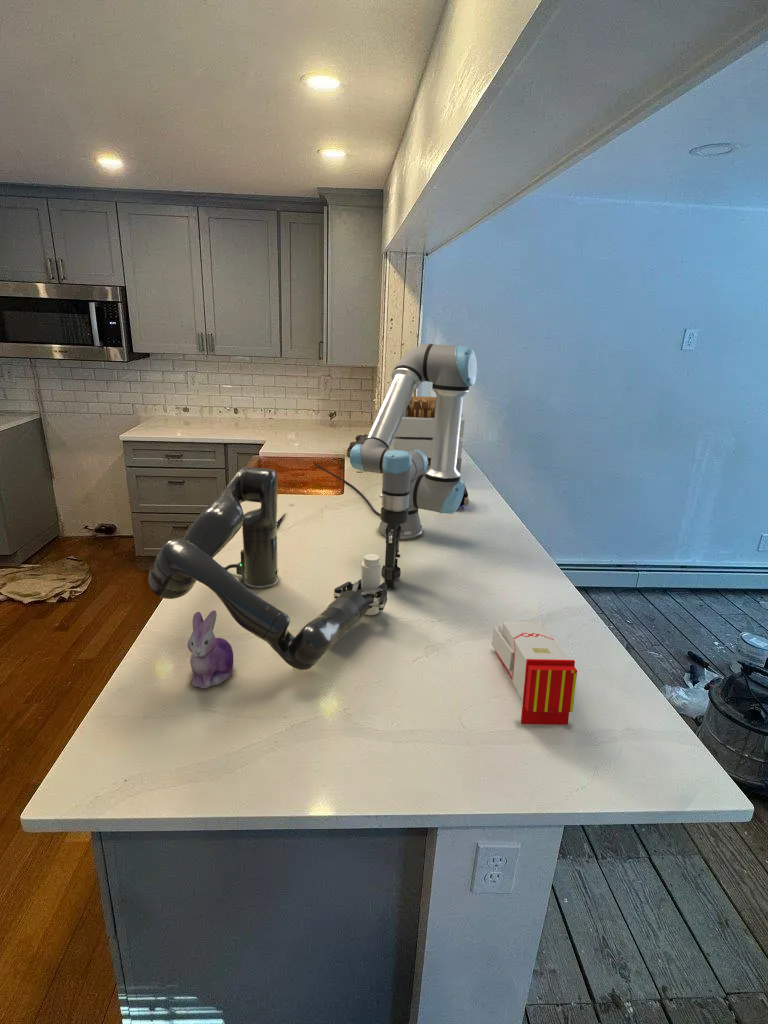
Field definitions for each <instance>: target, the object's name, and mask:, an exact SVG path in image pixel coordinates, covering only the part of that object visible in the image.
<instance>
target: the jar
mask: <svg viewBox="0 0 768 1024" xmlns="http://www.w3.org/2000/svg"><path fill="white" fill-rule="evenodd" d="M381 571H382V563H381V558H380V556H379V555H378V554H374V553H367V554H365V555H364V556H363V561H362V563H361V573H360V574H361V575H360V579H361V590H362V591H365V592H366V591H369V590H371V589H373V590H375V589H377V588H378V587H379V586H380V585H381V580H382V579H381V578H382V576H381ZM376 596H377V594H376ZM376 601H377V600H376ZM379 612H380V610H379V607H372V608H370V609H368V610H367V611H366V613H365V615H366V616H374V615H377V614H379ZM365 615H364V616H365Z"/></svg>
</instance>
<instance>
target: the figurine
mask: <svg viewBox="0 0 768 1024" xmlns="http://www.w3.org/2000/svg"><path fill="white" fill-rule="evenodd" d="M217 617H218V613H217V610H216V609H213V610H212V611H210V612H209V614H208V615H207V616H206V618H205V619H204V617H203V615H202V613H201V612H200V611H196V612H194V614H193V616H192V632H191V634H190V636H189V639H188V640H187V649H188V650H189V652H190V653H191V656H190V659H189V664H190V667H191V671H192V675H193V677H192V683H191V684H192V686H194V687H198V688H201V689H207V688H210V687H213V686H217V685H220V684H222V683H223V682H225V681H226V680H228V679H229V678H230V677H231V676H232V675H233V671H234V650H233V648H232V645H231V643H230V642H229V641H228V640H227V639H225V638H223V637H216V635H215V632H214V628H215V624H216V621H217Z"/></svg>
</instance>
